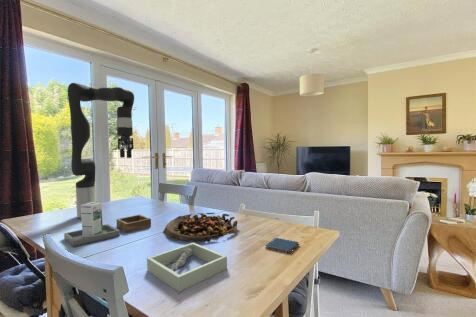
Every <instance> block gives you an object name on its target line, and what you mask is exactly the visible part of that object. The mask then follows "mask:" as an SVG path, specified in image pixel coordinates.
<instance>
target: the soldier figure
mask: <svg viewBox="0 0 476 317" xmlns="http://www.w3.org/2000/svg"><path fill="white" fill-rule="evenodd" d="M183 251H185V252H184V253H183V254H182V255H181V257H180V258H179V260H172V261H170V262H172V263H171V264H172V265H171V268H170V269H171V270H172V271H174V272H175V270H178V268H179V267H182V266H185V264H186V262H187V259H188V258H189V256H188V255H189V254H190V252H191V251H192V250H191V249H190V248H185V249H183Z"/></svg>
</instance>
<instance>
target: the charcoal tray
mask: <svg viewBox="0 0 476 317" xmlns="http://www.w3.org/2000/svg"><path fill="white" fill-rule="evenodd" d="M102 226H103V234H99V235H94V236H90V237H86V238H84V237H83V235H82V229H79V230H73V231H69V232H64V233H63V234H64V235H63V236H64V238H63V239H64V240H65V241H66V242H67V243H68V244H69V245H70V246H71V247H72V248H77V247H80V246H81V247H82V246H84V245H88V244H92V243H93V244H94V243H97V242H100V241H101V242H102V241H105V240H108V239H112V238H116V237H117V238H118V237H120V234H121V233H120V230H121V229H119V228H117V227H115V226H113V225H111V224H109V223H107V224H102Z"/></svg>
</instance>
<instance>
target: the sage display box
mask: <svg viewBox="0 0 476 317" xmlns="http://www.w3.org/2000/svg"><path fill="white" fill-rule="evenodd" d="M185 248H190V249H191V250H192V251H191V252H190V254H189V255H188V257H191V256H195V257H196V258H199V259H200V260H201V259H202V260H203V261H205V262H207V263H204V264H202V265H200V266H199V265H198V266H197V267H195V268H193V269H190V270H188V271H185V272H183V273H181V274H179V273H177V272H176V271H175V270H174V271H172V270H171V269H172V268H170V267H168V265H170V264H173V263H172V262H170V261H172V260H179V258H180V257H181V255H182V254H183V253H184V252H185V251H183V249H185ZM146 265H147V266H146V269H147V271H148V272H149V273H150V274H152V275H154V276H155V277H156V278H158V279H160V280H161V281H162V282H163V283H165V284H166V285H168V286H170V287H171V288H173V289H174V290H175V291H177V292H178V293H179V292H181V291H183V290H186V289H188V288H190V287H192V286H194V285H197V284H199V283H201V282H202V281H204V280H207V279H209V278H211V277H213V276H215V275H217V274H219V273H222V272H223V271H225V270H227V269H228V257H227V256H226V255H224V254H222V253H219V252H217V251H215V250H212V249H210V248H207V247H205V246H203V245H200V244H197V243H196V242H190V243H187V244H184V245H182V246H178V247H176V248H173V249H169V250H167V251H164V252H161V253H158V254H154V255H152V256H149V257H147V258H146Z"/></svg>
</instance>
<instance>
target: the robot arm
mask: <svg viewBox="0 0 476 317" xmlns="http://www.w3.org/2000/svg"><path fill="white" fill-rule="evenodd" d="M67 99H68V105H69V114H70V132H71V134H70V137H71V162H70V163H71V164H70V165H71V171H72V174H73V176H77V177H79V176H84V177H83V178H82V179H81V180H79V181H77V182H76V183H75V197H76V198H75V199H76V218H77V219H82V218H81V205H84V204H87V203H90V202H96V190H95V183H96V163H95V161H94V159H92V158H82V153H83V151H84V148H85V146H86V145H87V143H88V142H89V139H90V137H91V125H90V122H89V119H88V118H87V117H86V115H85V114H84V111H83V109H82V104H81V102H92V101H104V102H122V105H121V106H118V107H117V108H116V117H117V118H116V135H117V136H118V138H117V149H118V150H119V157H120V158H121V159H122V158H123V159H124V158H125V157H126V158H127V159H131V158H132V155H133V154H132V151H133V150H134V138H133V137H132V136H133V135H134V130H133V129H134V128H133V118H132V117H133V115H132V111H133V107H134V104H135V103H134V102H135V94H134V92H133V91H132V90H130V89H128V88H123V87H120V86H119V87H118V86H117V87H116V86H115V87H99V88H94V87H90V86H88V85H85V84H80V83H77V82H71V83H70V84H68V87H67ZM125 149H126V151H125ZM125 152H126V153H125ZM125 154H126V156H125Z"/></svg>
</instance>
